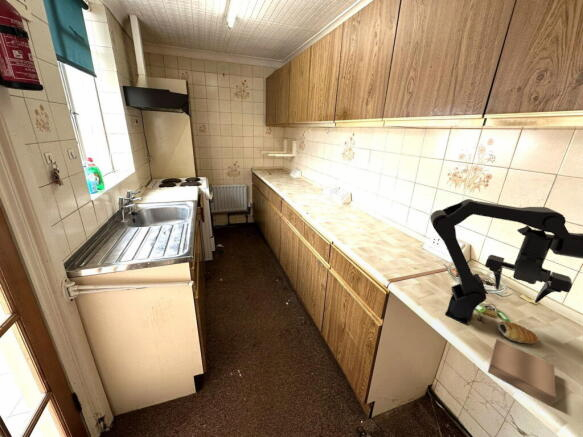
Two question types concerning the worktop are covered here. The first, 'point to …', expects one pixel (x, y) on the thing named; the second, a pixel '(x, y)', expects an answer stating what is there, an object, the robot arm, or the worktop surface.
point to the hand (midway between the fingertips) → (515, 295)
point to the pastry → (517, 332)
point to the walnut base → (523, 371)
